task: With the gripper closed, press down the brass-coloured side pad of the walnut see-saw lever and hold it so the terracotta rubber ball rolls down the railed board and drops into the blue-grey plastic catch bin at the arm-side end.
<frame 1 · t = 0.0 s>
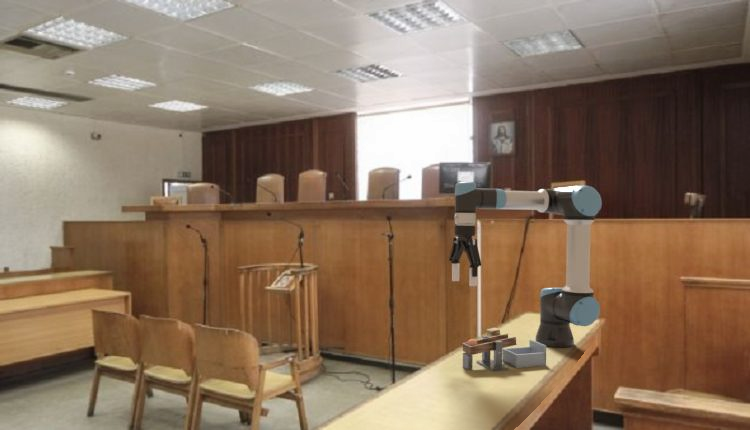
hand: (464, 283, 195), 28 cm above the table, fingers open, 13 cm apart
lever: (483, 340, 191), point 8 cm above the table, hinge at 7.5°, touching ball
ball: (474, 347, 185), point 7 cm above the table, tilted 35°, touching lever
fulcrum: (491, 366, 188), on the table
bin: (523, 363, 192), on the table
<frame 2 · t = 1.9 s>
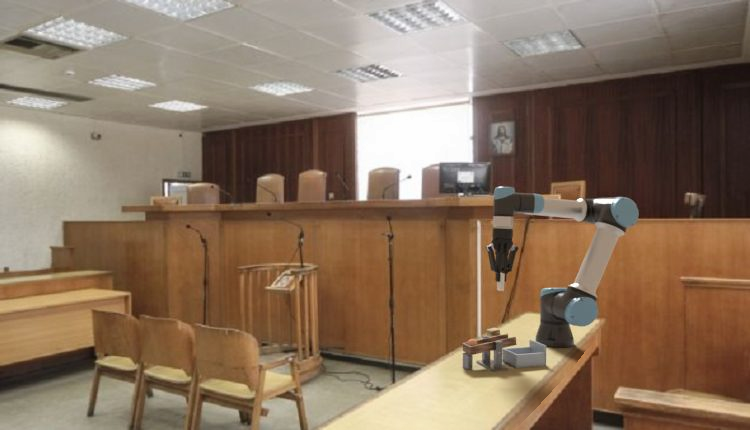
hand: (500, 290, 202), 24 cm above the table, fingers closed
nothing on the table moved.
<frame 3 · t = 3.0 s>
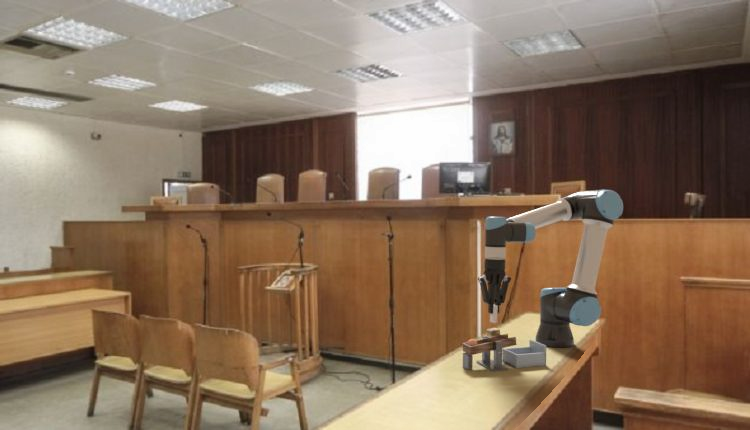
hand: (493, 322, 198), 13 cm above the table, fingers closed
nothing on the table moved.
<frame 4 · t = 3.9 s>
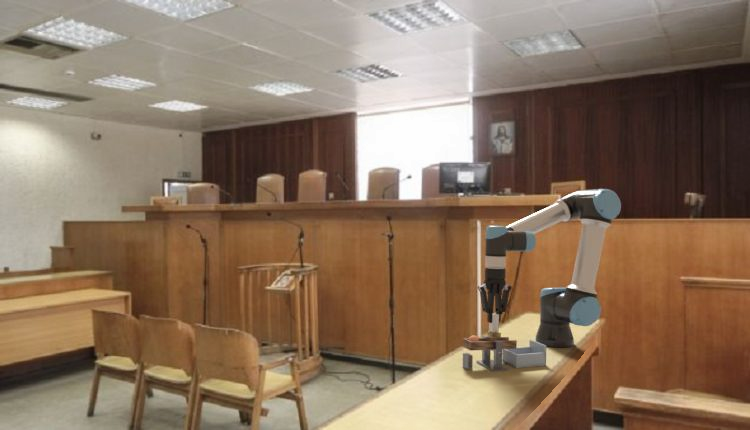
hand: (493, 331, 198), 10 cm above the table, fingers closed, pressing on lever
lever: (483, 340, 191), point 8 cm above the table, hinge at -1.8°, touching ball, gripper
ball: (475, 344, 185), point 8 cm above the table, tilted 19°, touching lever
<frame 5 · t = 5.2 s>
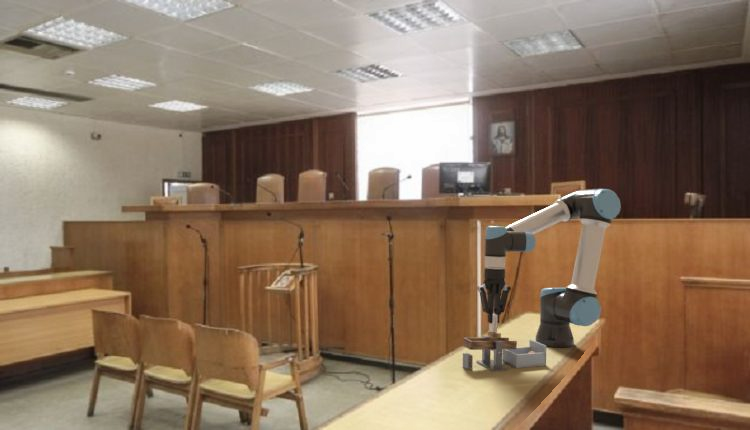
hand: (493, 331, 198), 10 cm above the table, fingers closed
lever: (484, 340, 191), point 8 cm above the table, hinge at -3.3°, touching gripper
ball: (528, 356, 192), point 2 cm above the table, tilted 87°, touching bin
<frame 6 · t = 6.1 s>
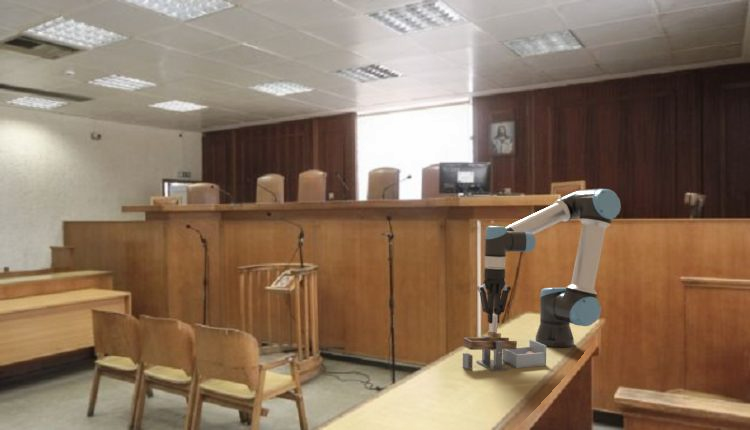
hand: (493, 331, 198), 10 cm above the table, fingers closed
ball: (526, 359, 192), point 1 cm above the table, tilted 58°, touching bin
everything else where it was.
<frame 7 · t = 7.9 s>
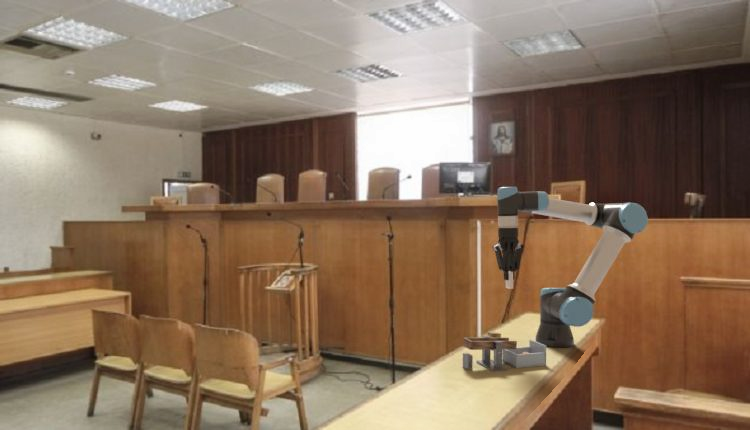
hand: (509, 288, 206), 25 cm above the table, fingers closed
lever: (484, 340, 191), point 8 cm above the table, hinge at -3.3°
ball: (525, 361, 192), point 1 cm above the table, touching bin
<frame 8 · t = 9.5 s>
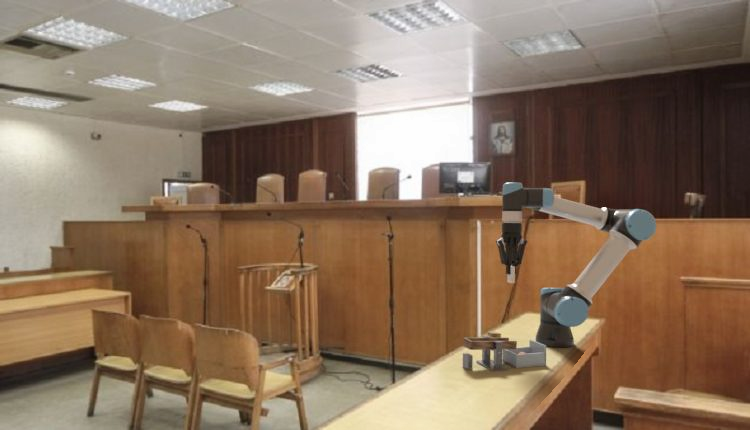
hand: (510, 282, 209), 26 cm above the table, fingers closed
ball: (525, 359, 192), point 1 cm above the table, tilted 49°, touching bin
everything else where it was.
at the end: ball inside the target area on the bin (0.6 cm from its centre), point 1.2 cm above the bin's base; ball touching bin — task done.
